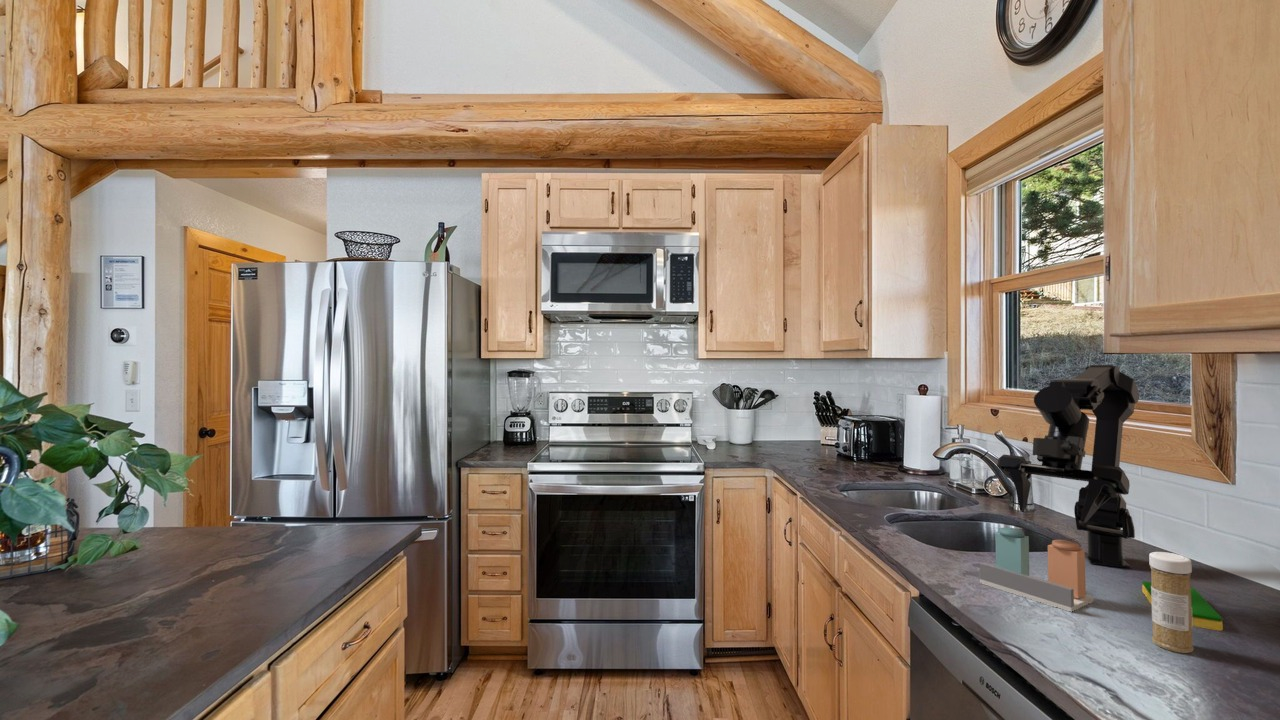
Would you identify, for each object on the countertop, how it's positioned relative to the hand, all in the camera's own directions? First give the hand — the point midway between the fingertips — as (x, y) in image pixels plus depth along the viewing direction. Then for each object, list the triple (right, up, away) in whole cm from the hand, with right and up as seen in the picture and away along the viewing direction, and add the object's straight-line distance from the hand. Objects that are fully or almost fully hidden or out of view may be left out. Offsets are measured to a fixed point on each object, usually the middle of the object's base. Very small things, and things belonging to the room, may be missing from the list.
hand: (1051, 516), depth 99 cm
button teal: (-1, -14, +8) cm, 16 cm away
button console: (-1, -15, +3) cm, 15 cm away
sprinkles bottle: (+6, -15, -17) cm, 23 cm away
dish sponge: (+19, -15, -4) cm, 25 cm away
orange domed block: (+3, -14, 0) cm, 14 cm away
